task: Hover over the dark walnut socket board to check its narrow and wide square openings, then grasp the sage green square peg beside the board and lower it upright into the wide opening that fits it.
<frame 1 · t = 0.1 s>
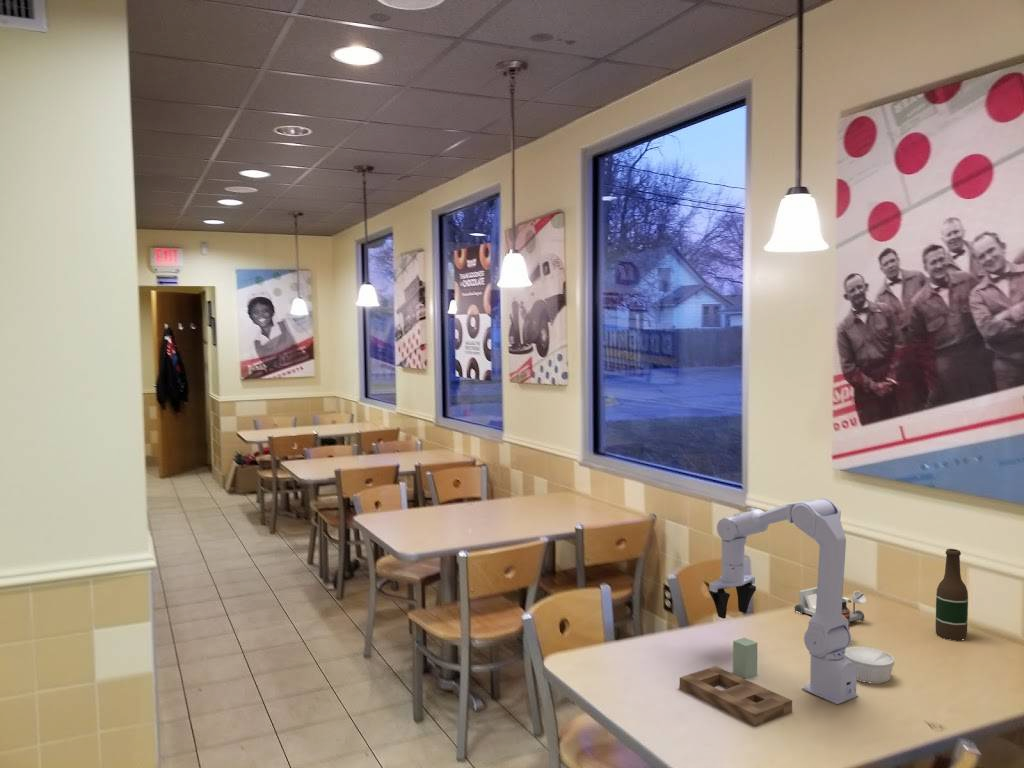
hand: (732, 614, 203), 10 cm above the table, tool pointing down, fingers open, 7 cm apart
ramekin: (868, 677, 189), on the table
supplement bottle: (837, 641, 211), on the table
socket board: (733, 699, 176), on the table
peg: (744, 674, 190), on the table
beer bottle: (951, 636, 214), on the table
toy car: (832, 619, 230), on the table
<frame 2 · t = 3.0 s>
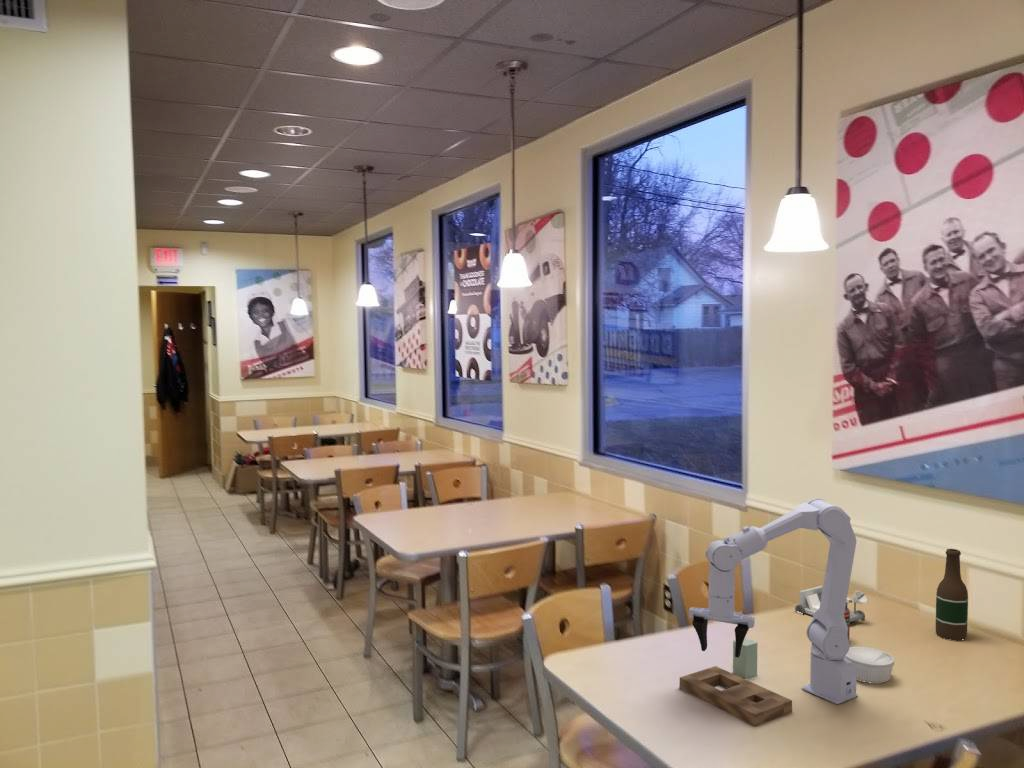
hand: (720, 652, 179), 9 cm above the table, tool pointing down, fingers open, 7 cm apart
nothing on the table moved.
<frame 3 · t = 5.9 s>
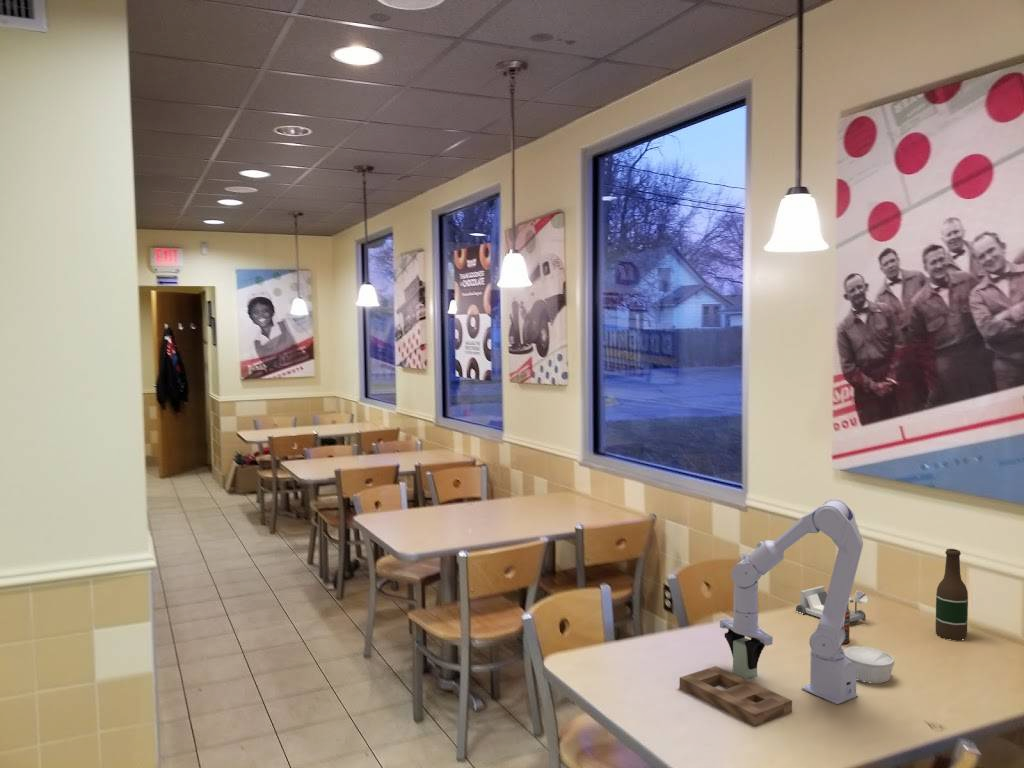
hand: (745, 665, 190), 2 cm above the table, tool pointing down, fingers closed on peg, 4 cm apart
peg: (744, 673, 190), on the table, touching gripper
everything else where it was.
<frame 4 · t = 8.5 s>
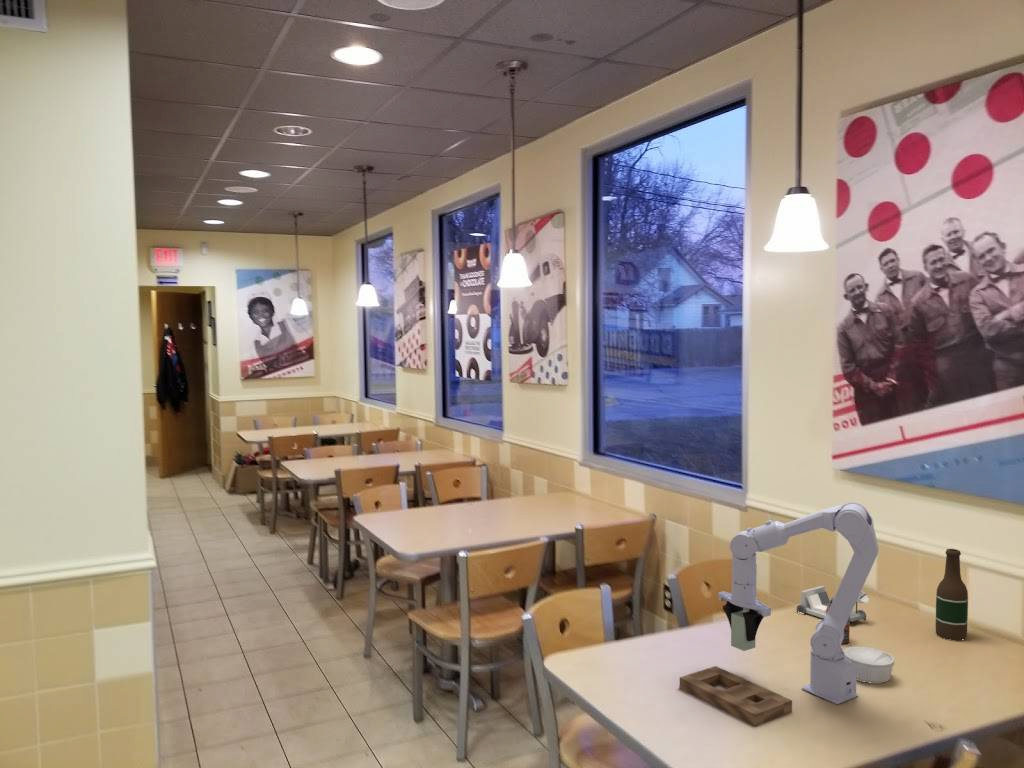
hand: (743, 637, 189), 9 cm above the table, tool pointing down, fingers closed on peg, 4 cm apart
peg: (743, 646, 189), point 7 cm above the table, touching gripper
everything else where it was.
when the fingers open (3 cm above the table, at t = 11.5 s): peg stays where it is, resting in socket board.
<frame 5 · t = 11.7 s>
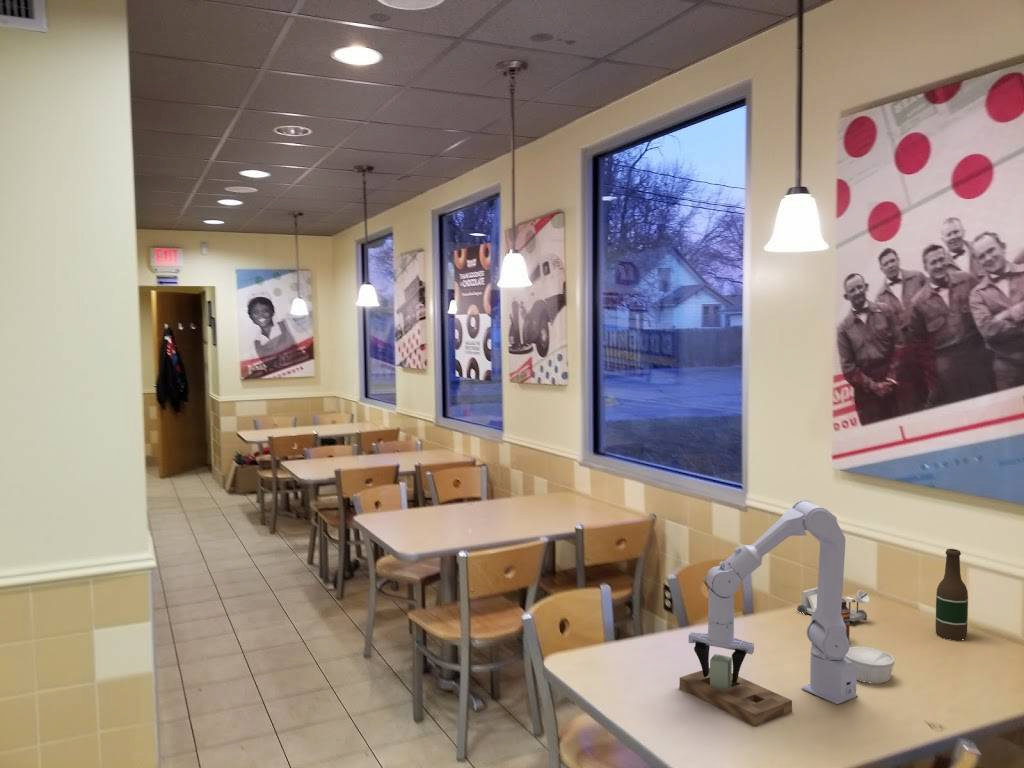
hand: (720, 678, 179), 3 cm above the table, tool pointing down, fingers open, 6 cm apart
peg: (720, 692, 180), resting in socket board
everything else where it was.
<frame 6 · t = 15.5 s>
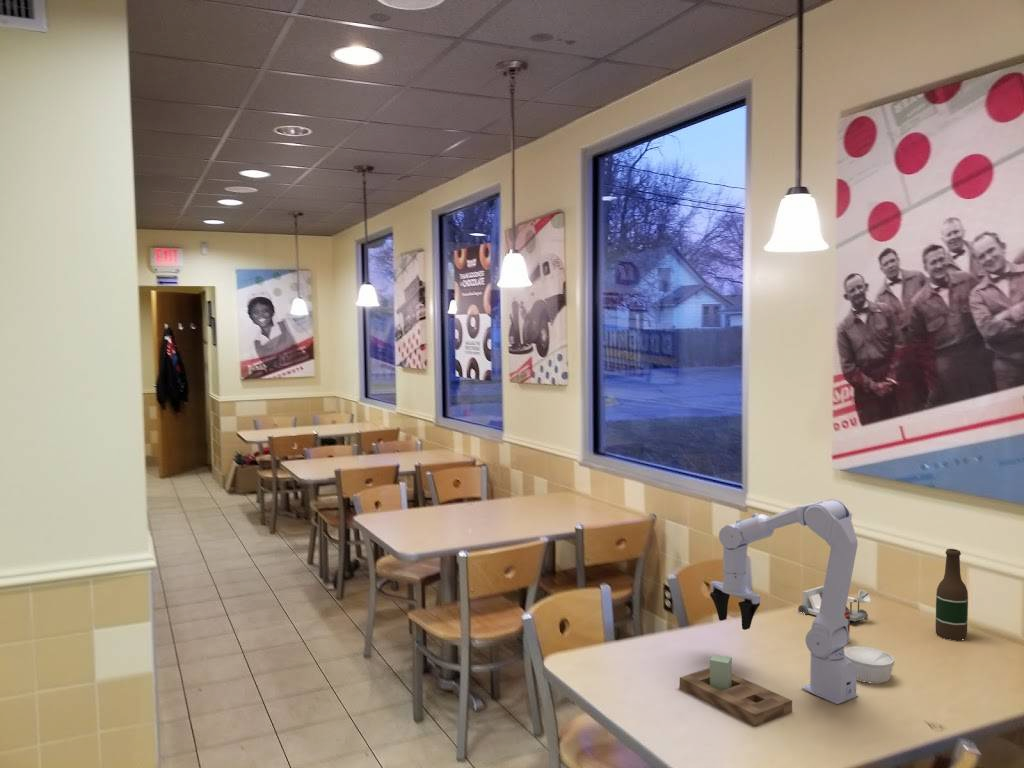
hand: (734, 624, 198), 9 cm above the table, tool pointing down, fingers open, 7 cm apart
at the end: peg 0.3 cm from the target spot on the socket board, point 0.0 cm above the socket board's base; peg tilted 0°; the gripper is holding nothing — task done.
